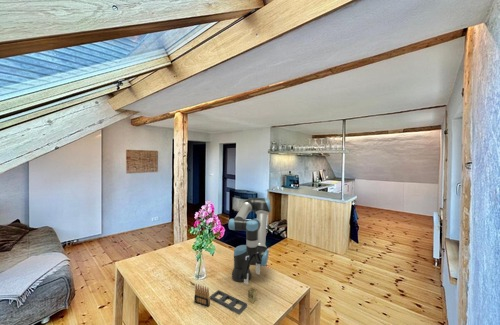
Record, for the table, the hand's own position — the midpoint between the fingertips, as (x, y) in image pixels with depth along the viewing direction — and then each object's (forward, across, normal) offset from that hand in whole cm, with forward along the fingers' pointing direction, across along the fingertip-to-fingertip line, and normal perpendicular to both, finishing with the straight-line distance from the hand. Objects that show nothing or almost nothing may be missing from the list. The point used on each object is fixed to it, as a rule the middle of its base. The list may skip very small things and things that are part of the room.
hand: (252, 278), depth 130 cm
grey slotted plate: (+15, +10, -12) cm, 21 cm away
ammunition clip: (+15, +20, -25) cm, 35 cm away
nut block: (+15, 0, 0) cm, 15 cm away
